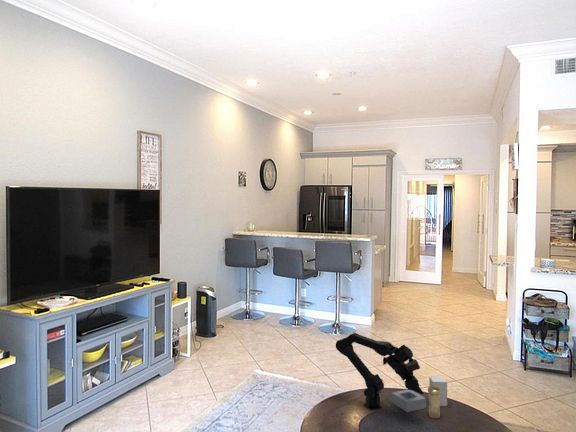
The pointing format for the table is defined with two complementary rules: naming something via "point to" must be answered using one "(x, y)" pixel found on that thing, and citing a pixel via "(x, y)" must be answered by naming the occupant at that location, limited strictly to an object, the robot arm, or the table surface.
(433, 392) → the brass bushing
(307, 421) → the table surface
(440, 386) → the supplement box
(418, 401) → the block
